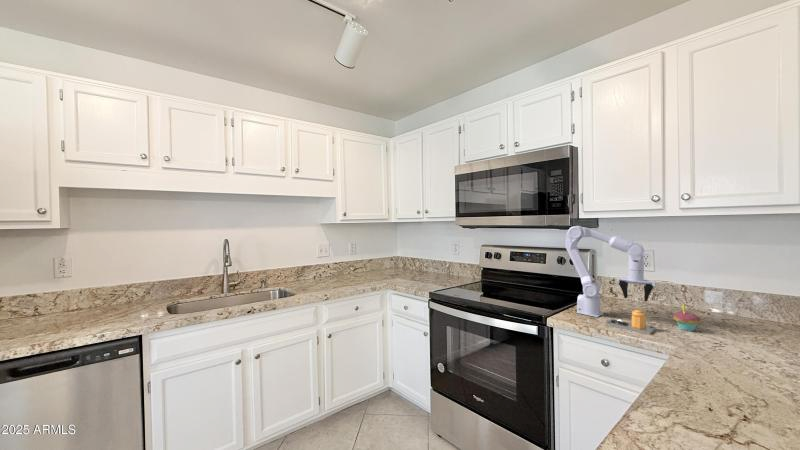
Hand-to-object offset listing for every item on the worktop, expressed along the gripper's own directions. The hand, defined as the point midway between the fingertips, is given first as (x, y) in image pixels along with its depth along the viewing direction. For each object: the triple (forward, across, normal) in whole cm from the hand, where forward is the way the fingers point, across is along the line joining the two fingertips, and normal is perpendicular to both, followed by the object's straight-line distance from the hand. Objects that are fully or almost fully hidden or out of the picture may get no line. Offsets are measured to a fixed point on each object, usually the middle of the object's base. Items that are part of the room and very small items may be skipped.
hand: (635, 299), depth 145 cm
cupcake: (+10, -17, -3) cm, 20 cm away
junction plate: (+10, -1, +12) cm, 15 cm away
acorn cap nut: (+9, -4, +11) cm, 15 cm away
